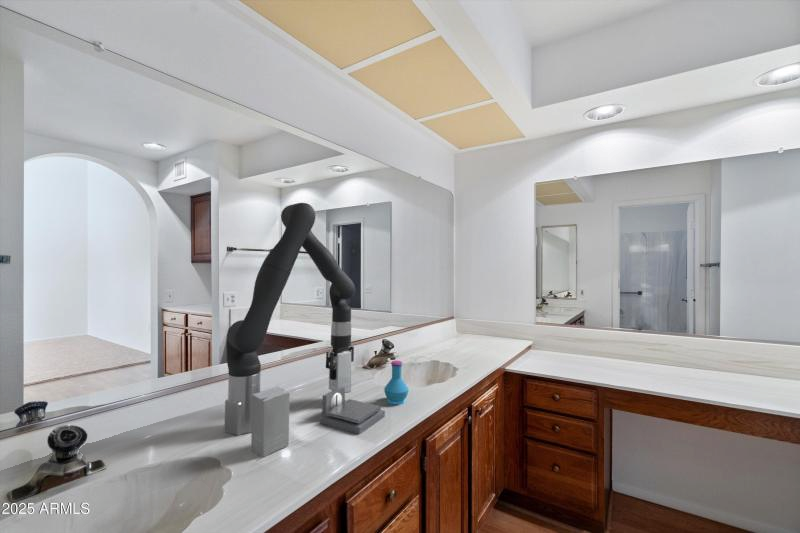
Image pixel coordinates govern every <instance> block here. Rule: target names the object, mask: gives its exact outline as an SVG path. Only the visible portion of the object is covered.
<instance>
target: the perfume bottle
mask: <svg viewBox="0 0 800 533" xmlns="http://www.w3.org/2000/svg"><path fill="white" fill-rule="evenodd" d="M403 364H404V363H403V361H401V360H392V361H391V362H390V365H391V379H390V380H389V381H388V382H387V384H386V385H385V386H384V388H383V390H384V394H385V396H386V399H387V403H388V404H391V405H403V404H404V403H405V402H406V399H407V396H408V394H409V387H408V386H407V384H406V383H405V381H404V380H403V378H402V366H403Z"/></svg>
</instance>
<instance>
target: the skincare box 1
mask: <svg viewBox="0 0 800 533" xmlns="http://www.w3.org/2000/svg"><path fill="white" fill-rule="evenodd" d="M290 395H291V393H290V391H288V390H286V389H283V388H282V387H280V386H274V387H271V388H268V389H265V390H263V391H260V392H259V393H255V394H252V432H250V433H251V436H250V437H251V439H250V441H251V443H250V444H251V446H250V447H251V450H252V451H253V452H255V453H256V454H257V455H259V456H260V457H262V458H265V457H266V456H269V455H270V454H273V453H275V452H277V451H279V450H282V449H284V448H286V447H288V446H290V445H289V438H290V434H289V433H290V398H291V397H290Z"/></svg>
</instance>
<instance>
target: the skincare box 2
mask: <svg viewBox="0 0 800 533" xmlns="http://www.w3.org/2000/svg"><path fill="white" fill-rule="evenodd" d="M332 350H333V349H331V350H328V352H332ZM333 360H334V361H337V368H336V379H335V380H331V379H330V369H328V390H330V391H334V390H336V389H338V388H340V387H344V388H345V394H349V393H351V392H352V362H351V352H349V351H343V353H342V352H340V353H337V356H335V358H334V359H333ZM329 365H330V362H329ZM334 365H335V364H333V366H334Z"/></svg>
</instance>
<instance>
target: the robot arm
mask: <svg viewBox="0 0 800 533" xmlns="http://www.w3.org/2000/svg"><path fill="white" fill-rule="evenodd" d="M280 218H281V223H282V225H283V226H284V227H285V229H284V231H283V234H282V236H281V237H280V239H279V240H278V242H277V243H276V244H275V245H274V246H273V248H271V250H270V251H269V253H268V254H267V255H266V257H265V258H264V260H263V262H262V264H261V267H260V268H259V271H258V273H257V276H256V279H255V282H254V287H253V293H252V299H251V303H250V306H249V308H248V310H247V312H246V314H245V317H244V318H243V319H241V320H237V321H235V322H234V323H233V324H231V326H230V327H229V328H228V331H227V334H226V364H227V368H228V373H227V374H228V379H227V380H228V387H227V399H225V401H224V432H226V433H229V434H233V435H235V436H240V435H245V434H250V433H252V394H255V393H259V392H261V376H262V375H261V372H262V370H261V368H262V366H261V365H262V364H261V360H260V359H259V355H258V350H259V349H260V348H261V346H262V345H263V343H264V341H265V338H266V335H267V332H268V329H269V326H270V323H271V319H272V317H273V314H274V311H275V309H276V306H277V305H278V302H279V301H280V299H281V295H282V294H283V291H284V290H285V287H286V286H287V285H286V284H287V283H288V280H289V278H290V276H291V273H292V270H293V269H294V266H295V263H296V261H297V259H298V256H299V253H300V251H301V249H302V248H303V249H304V250H305V252H306V253H307V254H308V256H309V257H310V258H311V260H312V261H313V263H314V265H315V267H316V268H317V269H318V271H319V273H320V274H321V276H322V278H324V280H326V281H328V282H330V283H331V285H330V286H329V290H328V291H329V299H330V300H329V301H330V305H331V308H332V309H331V311H332V314H331V315H332V316H331V317H332V318H331V320H332V321H331V325H330V327H331V328H330V346H331V347H332V349H331V350H332V352H329V351H326V355H325V369H327V370H329V369H330V379H331V380H335V379H336V368H337V361H334V360H333V359H334V358H335V356H337V353H340V352H342V353H343V351H349V352H351V363H352V362H354V359H355V358H354V357H355V356H354V355H355V352H354V351H355V347H354V346H352V309H351V307H350V306H349V305H348V304H347V301H346V300H350V299H352V298H353V297H354V296H355V294H356V287H355V283H354V282H353V280H352V279H351V278H350V276H349V275H347V273H346V272H345V271H344V270H343V269H342V268H341V266H340V265H339V263H338V262H337V259H335V257H334V255H333V254H332V252H331V251H330V250H329V249H328V248H327V247H326V246H325V245H324V244H323V243H322V241H320V240H319V239H318V237H317V236H315V234H314V233H313V231H312V229H313V226H314V225H315V221H316V212H315V209H314V207H313V206H312V205H311V204H309V203H308V202H307V203H306V202H298V203H294V204H293V203H292V204H289V205H286V206H285V207H284V208H283V209H282V211H281V214H280ZM329 362H330V365H329ZM333 364H335V365H334V366H333Z"/></svg>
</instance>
